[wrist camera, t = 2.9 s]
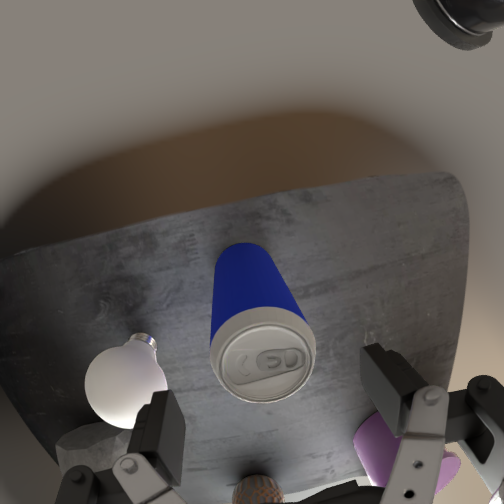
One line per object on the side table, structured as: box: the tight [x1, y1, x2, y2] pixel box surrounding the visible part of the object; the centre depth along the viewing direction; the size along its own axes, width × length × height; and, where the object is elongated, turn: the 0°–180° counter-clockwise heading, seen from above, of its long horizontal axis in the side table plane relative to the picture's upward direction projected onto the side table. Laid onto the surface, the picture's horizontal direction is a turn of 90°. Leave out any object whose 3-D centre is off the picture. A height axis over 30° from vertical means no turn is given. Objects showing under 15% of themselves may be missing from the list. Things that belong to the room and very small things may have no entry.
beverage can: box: [210, 243, 316, 403], centre depth 21 cm, size 5×5×15 cm
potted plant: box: [55, 421, 132, 476], centre depth 27 cm, size 12×13×15 cm
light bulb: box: [85, 332, 167, 429], centre depth 24 cm, size 7×7×11 cm
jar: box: [353, 411, 461, 494], centre depth 30 cm, size 11×11×12 cm
